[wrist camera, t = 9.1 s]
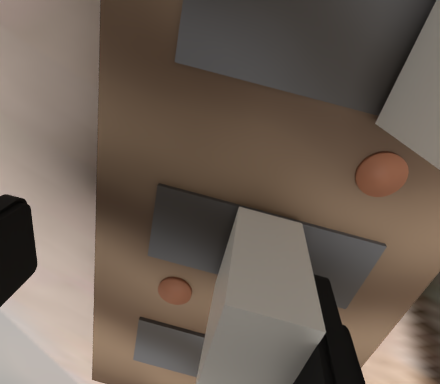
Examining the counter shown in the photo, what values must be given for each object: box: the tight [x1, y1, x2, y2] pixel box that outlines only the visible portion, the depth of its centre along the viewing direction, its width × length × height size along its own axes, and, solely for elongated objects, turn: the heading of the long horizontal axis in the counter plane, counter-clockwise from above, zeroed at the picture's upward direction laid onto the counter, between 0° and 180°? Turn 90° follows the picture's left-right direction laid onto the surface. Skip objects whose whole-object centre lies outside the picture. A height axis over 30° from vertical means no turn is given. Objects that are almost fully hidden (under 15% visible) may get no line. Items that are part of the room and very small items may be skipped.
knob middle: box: [196, 207, 326, 384], centre depth 10 cm, size 4×2×4 cm, turn 167°
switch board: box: [92, 0, 440, 384], centre depth 13 cm, size 27×14×2 cm, turn 167°
